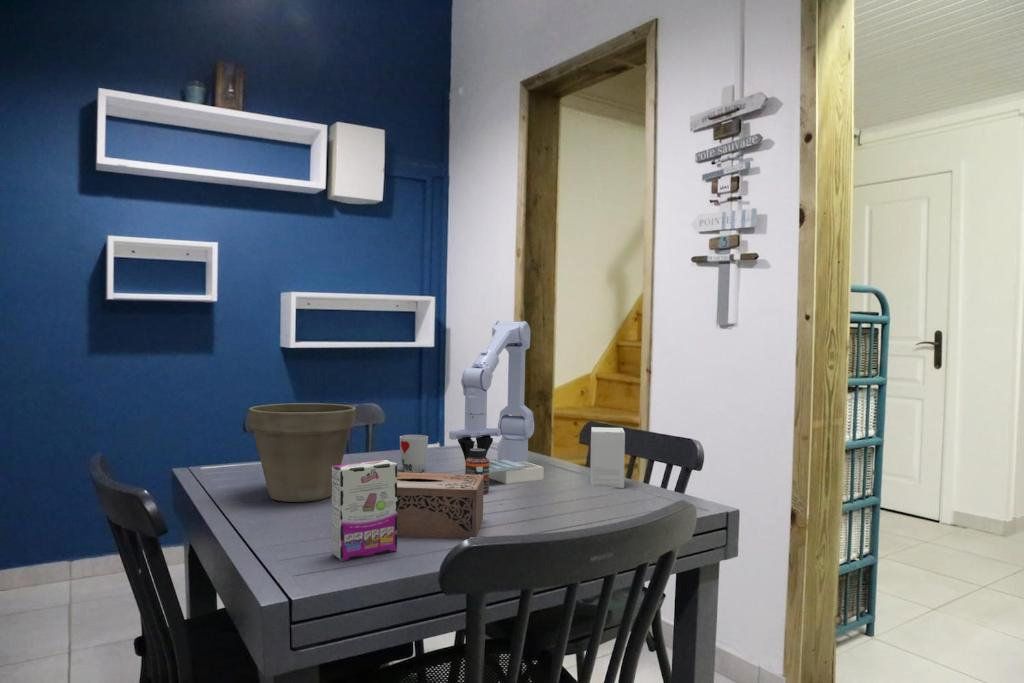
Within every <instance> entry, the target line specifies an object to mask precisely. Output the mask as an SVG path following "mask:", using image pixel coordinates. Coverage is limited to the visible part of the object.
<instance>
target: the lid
mask: <svg viewBox="0 0 1024 683" xmlns="http://www.w3.org/2000/svg"><path fill="white" fill-rule="evenodd" d="M517 469H525V466H524V465H521V464H518V463H515V462H512V461H508V460H498V458H496V459H494V460H489V472H498V471H507V470H517Z"/></svg>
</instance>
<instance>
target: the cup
mask: <svg viewBox="0 0 1024 683" xmlns="http://www.w3.org/2000/svg"><path fill="white" fill-rule="evenodd" d="M428 444H429V436H428V435H423V434H404V435H400V436H399V451H400V452H399V453H400V458H401V459H400V460H401V464H402V468H403V472H404V473H406V472H407V473H423V470H424V467H425V464H426V459H427V453H428Z"/></svg>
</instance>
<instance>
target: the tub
mask: <svg viewBox="0 0 1024 683" xmlns="http://www.w3.org/2000/svg"><path fill="white" fill-rule="evenodd" d="M515 463H518V464H521V465H524V466H525V467H526V468H525V469H517V470H507V471H498V472H489V479H491V480H494V481H497V482H500V483H503V484H505V485H508V484H517V483H519V484H520V483H527V482H534V481H535V482H536V481H543V480H544V477H545V476H544V475H545V474H544V472H545V471H544V470H545V467H544V466H541V465H538V464H534V463H532V462H529V461H528V462H526V461H525V462H515Z"/></svg>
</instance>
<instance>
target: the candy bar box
mask: <svg viewBox="0 0 1024 683" xmlns="http://www.w3.org/2000/svg"><path fill="white" fill-rule="evenodd" d="M397 472H398V463H397V462H394V461H392V460H389V459H381V460H380V459H379V460H371V461H363V462H356V463H355V462H353V463H346V464H341V465H336V466H332V495H331V554H332V556H333V557H335V558H336V559H338V560H339V561H342V562H344V561H349V560H355V559H360V558H365V557H370V556H375V555H381V554H386V553H390V552H396V551H397V550H398V536H397Z"/></svg>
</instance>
